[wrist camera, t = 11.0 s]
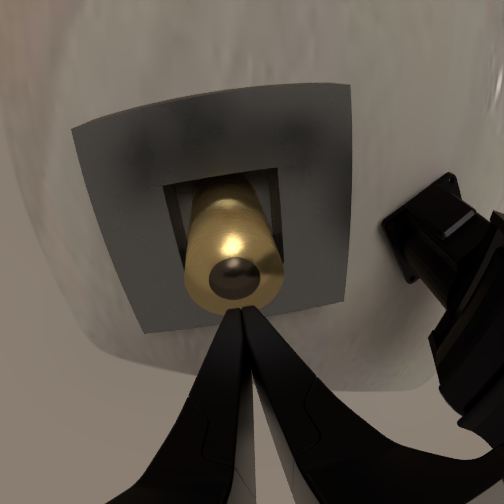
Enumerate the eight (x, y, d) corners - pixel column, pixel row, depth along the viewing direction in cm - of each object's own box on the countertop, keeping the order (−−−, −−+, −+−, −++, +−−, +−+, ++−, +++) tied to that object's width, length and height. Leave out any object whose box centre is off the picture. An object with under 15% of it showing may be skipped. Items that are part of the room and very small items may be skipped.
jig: (328, 272, 20) (343, 301, 18) (150, 301, 19) (144, 333, 17) (325, 82, 14) (350, 84, 11) (94, 119, 13) (71, 129, 10)
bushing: (269, 206, 17) (302, 283, 11) (219, 241, 18) (227, 330, 12) (230, 158, 15) (245, 214, 9) (179, 198, 16) (163, 275, 10)
